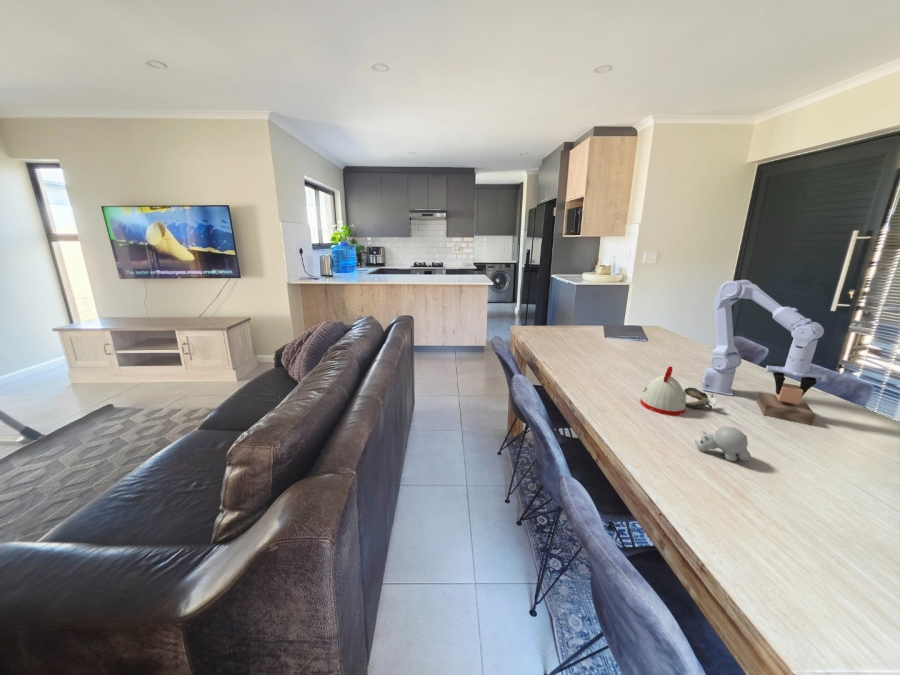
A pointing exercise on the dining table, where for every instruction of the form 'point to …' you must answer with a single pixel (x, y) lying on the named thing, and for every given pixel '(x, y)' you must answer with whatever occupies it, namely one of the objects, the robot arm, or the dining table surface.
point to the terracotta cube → (790, 393)
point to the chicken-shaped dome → (664, 395)
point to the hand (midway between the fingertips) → (787, 395)
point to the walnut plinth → (785, 409)
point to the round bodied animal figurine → (726, 443)
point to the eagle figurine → (699, 398)
